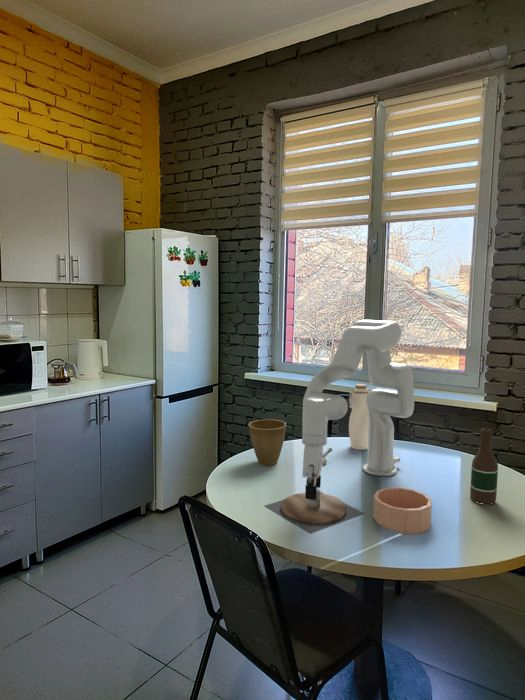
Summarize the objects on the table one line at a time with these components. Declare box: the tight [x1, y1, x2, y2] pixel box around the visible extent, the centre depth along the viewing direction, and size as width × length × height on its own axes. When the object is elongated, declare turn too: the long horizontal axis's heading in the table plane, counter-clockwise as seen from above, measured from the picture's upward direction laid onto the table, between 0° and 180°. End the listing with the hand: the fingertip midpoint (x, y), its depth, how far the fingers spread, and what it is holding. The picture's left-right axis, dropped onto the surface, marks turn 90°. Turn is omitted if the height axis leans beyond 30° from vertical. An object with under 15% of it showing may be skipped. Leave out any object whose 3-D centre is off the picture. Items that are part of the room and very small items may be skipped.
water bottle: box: [347, 383, 371, 451], centre depth 211 cm, size 10×9×28 cm
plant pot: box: [248, 419, 287, 467], centre depth 192 cm, size 15×15×16 cm
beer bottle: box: [469, 427, 499, 504], centre depth 156 cm, size 8×8×24 cm
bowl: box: [372, 487, 433, 535], centre depth 142 cm, size 16×16×7 cm
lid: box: [281, 488, 347, 524], centre depth 148 cm, size 20×20×6 cm
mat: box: [264, 491, 366, 535], centre depth 148 cm, size 22×22×1 cm
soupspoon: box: [322, 447, 333, 467], centre depth 199 cm, size 22×3×7 cm
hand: (313, 492), depth 148 cm, fingers open, 9 cm apart
